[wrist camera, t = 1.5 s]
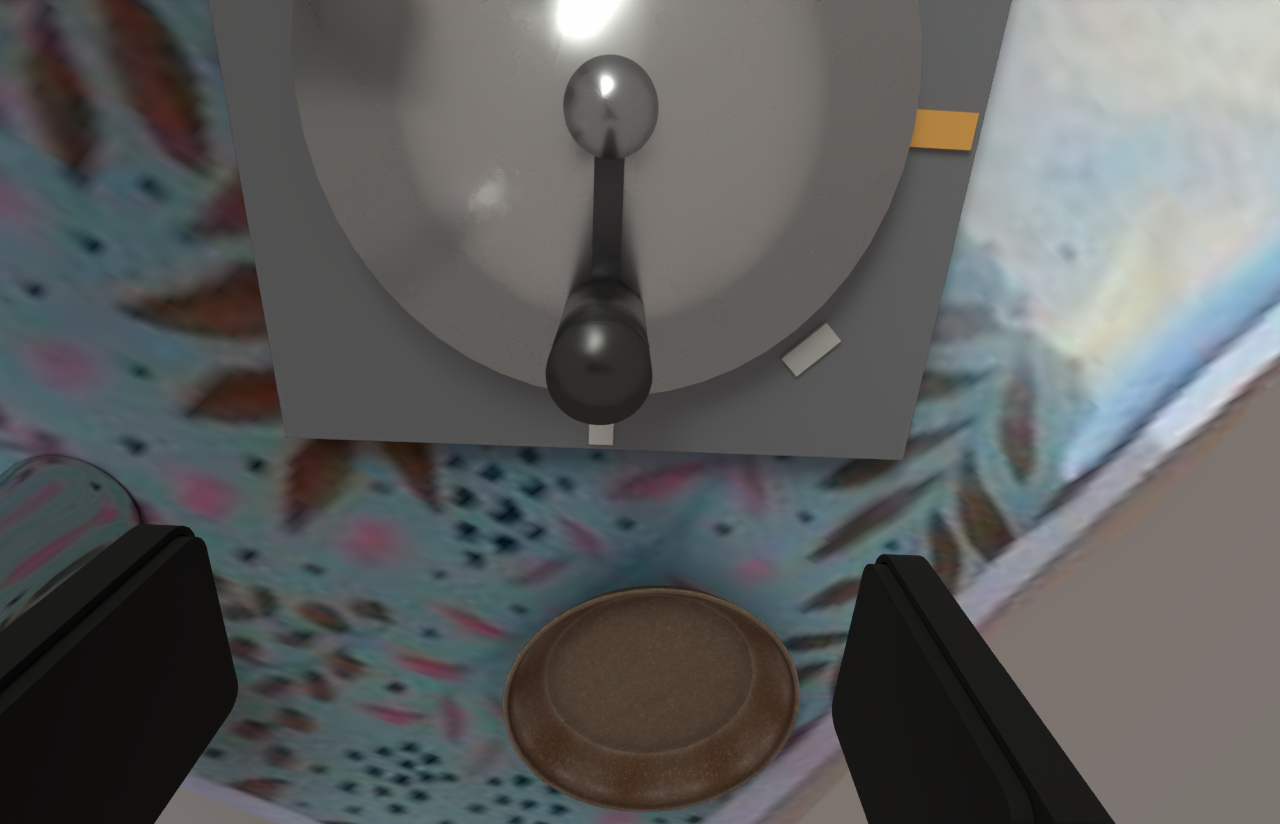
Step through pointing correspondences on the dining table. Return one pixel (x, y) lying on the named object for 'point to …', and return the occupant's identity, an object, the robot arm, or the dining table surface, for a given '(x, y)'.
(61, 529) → the beer glass
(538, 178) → the dial
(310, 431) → the dial plate
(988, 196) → the dining table surface
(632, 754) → the saucer
